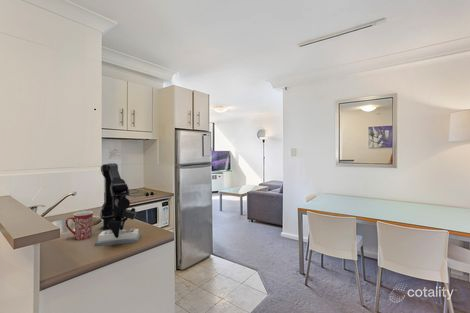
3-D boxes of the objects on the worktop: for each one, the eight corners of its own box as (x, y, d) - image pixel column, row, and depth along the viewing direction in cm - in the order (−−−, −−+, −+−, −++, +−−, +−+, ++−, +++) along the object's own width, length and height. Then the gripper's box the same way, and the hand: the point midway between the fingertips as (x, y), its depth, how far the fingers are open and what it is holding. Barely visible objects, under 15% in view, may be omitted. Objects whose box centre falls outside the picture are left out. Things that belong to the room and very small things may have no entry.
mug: (94, 233, 130) (94, 210, 130) (91, 239, 121) (91, 214, 121) (68, 236, 125) (68, 212, 125) (63, 242, 117) (62, 216, 116)
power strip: (102, 236, 121) (102, 231, 121) (138, 234, 125) (138, 228, 125) (98, 241, 115) (98, 235, 114) (136, 238, 119) (136, 232, 119)
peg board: (101, 238, 122) (101, 228, 122) (140, 235, 127) (140, 225, 127) (94, 246, 112) (94, 235, 112) (137, 242, 117) (137, 231, 117)
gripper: (131, 209, 112) (131, 240, 112) (138, 201, 130) (138, 227, 131) (106, 210, 110) (107, 242, 110) (117, 202, 128) (117, 229, 128)
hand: (119, 234), depth 120 cm, fingers open, 8 cm apart
